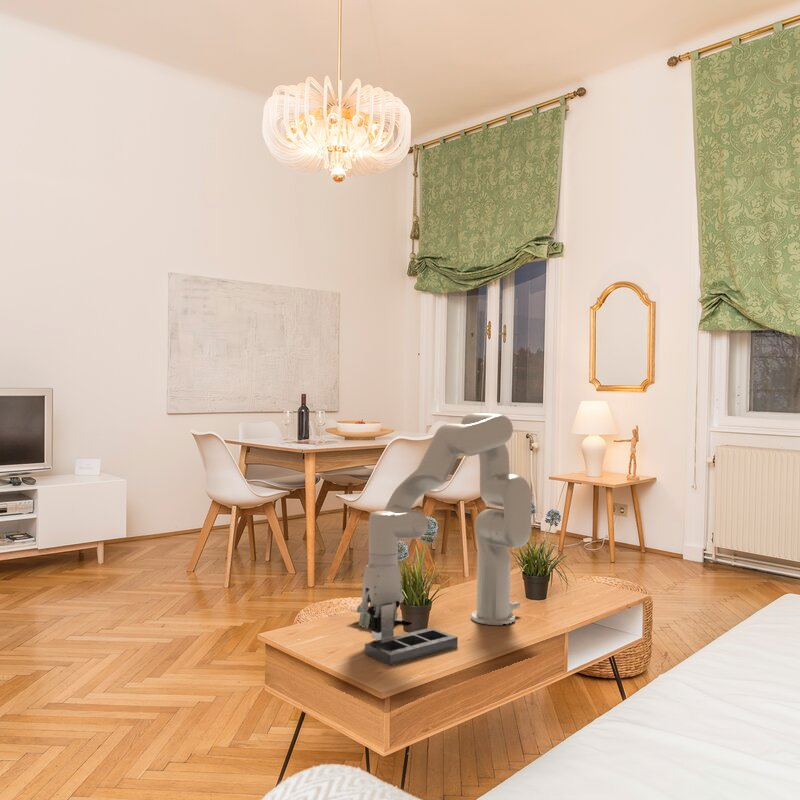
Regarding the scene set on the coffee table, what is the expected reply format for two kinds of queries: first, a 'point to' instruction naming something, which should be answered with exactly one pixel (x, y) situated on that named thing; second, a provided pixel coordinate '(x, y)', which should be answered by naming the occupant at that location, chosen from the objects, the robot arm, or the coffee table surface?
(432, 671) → the coffee table surface
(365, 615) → the metal bracket
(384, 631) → the steel peg
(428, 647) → the compartment tray
